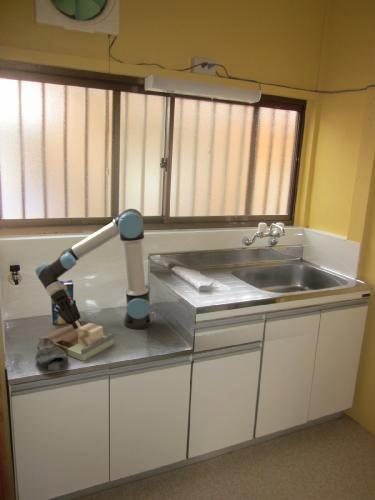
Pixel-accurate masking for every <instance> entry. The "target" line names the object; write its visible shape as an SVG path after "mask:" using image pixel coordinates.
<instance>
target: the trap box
mask: <svg viewBox="0 0 375 500" xmlns="http://www.w3.org/2000/svg"><path fill="white" fill-rule="evenodd" d="M42 338H49V339H51V340H52V341H53V342H54V345H55V346H58V347H60V348H61V349H62V350H63V351H64V352H65V353H66V354H67V356H69V355H68V348H70V347H72V346H74V345H76V344H78V332H77V330H76V329H74V327H73V326H72V324H71V325H70V324H66V325H65V326H62V327H61V328H59V329H56V330H54V331H52V332H50V333H47V334H45V335H43V336H41V337H39V341H40V340H41V339H42Z"/></svg>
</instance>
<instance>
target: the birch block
mask: <svg viewBox="0 0 375 500" xmlns="http://www.w3.org/2000/svg"><path fill="white" fill-rule="evenodd" d="M103 335H104V326H101V325H99V324H96V323H92V322H88V323H86V324H84V325H82V327H80V328H78V344H80V345H83V346H86V347H87V346H89V345H90V344H92V343H94V342H96V341H98V340H100V339H102V338H103Z"/></svg>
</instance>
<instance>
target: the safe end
mask: <svg viewBox="0 0 375 500" xmlns="http://www.w3.org/2000/svg"><path fill="white" fill-rule="evenodd" d="M113 345H114V333H109V334H108V335H104V334H103V338H102V339H100V340H98V341H96V342H94V343H92V344H90V345H89V346H87V347H86V346H83V345H80V344H76V345H74V346H72V347H70V348H68V355H67V356H70V357H72V358H74V359H77V360H80V361H81V362H84V361H86V360H88V359H90V358H91V357H93V356H94V355H96V354H99V353H100V352H102V351H104V350H105V349H107V348H108V347H110V346H113ZM87 358H88V359H87Z"/></svg>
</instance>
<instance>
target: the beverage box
mask: <svg viewBox="0 0 375 500" xmlns="http://www.w3.org/2000/svg"><path fill="white" fill-rule="evenodd" d="M59 282H60V283H61V285H62V286H63V289H64V290H65V291H66V293H67V295H68V298H69V299H70V300H72V301H74V281H73V280H72V279H69V280H68V279H66V280H59ZM50 299H51V298H50ZM50 301H51V302H50V305H51V306H50V307H51V310H50V311H51V324H52V325H58V324H60V325H61V324H67V323H66V322H65V321H64V320H63V319H62V318H61V317H60V316H59V314H58V313H56V312H55V311H54V308H55V307H56V305H55V303H53V301H52V299H51V300H50Z"/></svg>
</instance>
